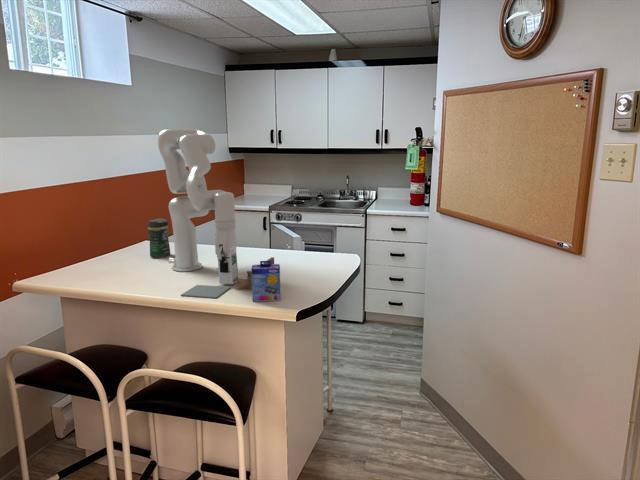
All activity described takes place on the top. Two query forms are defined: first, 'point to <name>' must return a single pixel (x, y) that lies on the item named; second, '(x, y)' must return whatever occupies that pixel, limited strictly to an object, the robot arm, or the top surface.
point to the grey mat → (206, 291)
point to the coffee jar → (158, 238)
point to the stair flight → (249, 279)
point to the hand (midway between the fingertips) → (227, 269)
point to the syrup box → (229, 268)
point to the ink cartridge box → (266, 282)
